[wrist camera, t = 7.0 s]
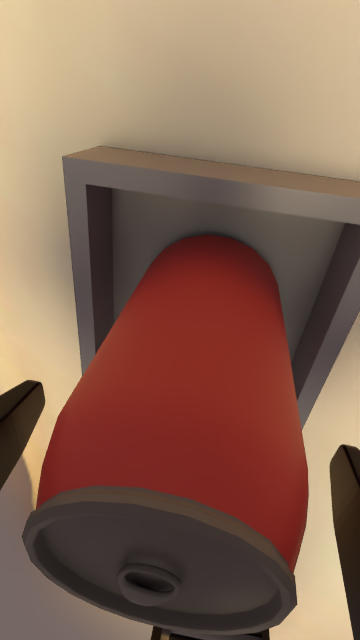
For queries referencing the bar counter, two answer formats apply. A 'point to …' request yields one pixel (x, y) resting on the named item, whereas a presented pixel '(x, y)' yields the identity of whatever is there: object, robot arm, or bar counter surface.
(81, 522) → the beer can
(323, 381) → the tray
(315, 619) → the bar counter surface
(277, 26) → the bar counter surface
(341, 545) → the robot arm
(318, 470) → the bar counter surface
